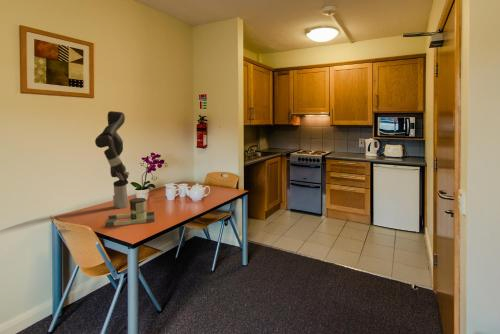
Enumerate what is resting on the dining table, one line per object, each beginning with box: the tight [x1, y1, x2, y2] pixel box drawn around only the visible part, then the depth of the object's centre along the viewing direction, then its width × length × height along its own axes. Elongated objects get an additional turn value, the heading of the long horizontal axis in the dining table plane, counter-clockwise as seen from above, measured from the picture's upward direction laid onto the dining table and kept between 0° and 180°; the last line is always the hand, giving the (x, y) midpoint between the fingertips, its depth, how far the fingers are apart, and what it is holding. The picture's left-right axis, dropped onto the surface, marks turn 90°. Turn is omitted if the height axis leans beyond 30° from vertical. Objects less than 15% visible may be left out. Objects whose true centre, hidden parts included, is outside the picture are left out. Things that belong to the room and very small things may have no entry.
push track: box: [104, 211, 155, 227], centre depth 202 cm, size 30×16×2 cm, turn 108°
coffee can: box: [129, 197, 147, 220], centre depth 203 cm, size 10×10×14 cm
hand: (126, 183), depth 209 cm, fingers closed
